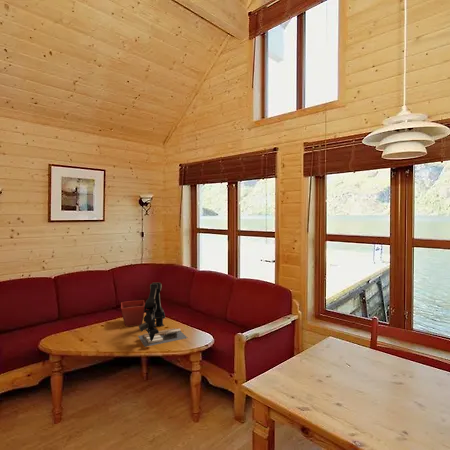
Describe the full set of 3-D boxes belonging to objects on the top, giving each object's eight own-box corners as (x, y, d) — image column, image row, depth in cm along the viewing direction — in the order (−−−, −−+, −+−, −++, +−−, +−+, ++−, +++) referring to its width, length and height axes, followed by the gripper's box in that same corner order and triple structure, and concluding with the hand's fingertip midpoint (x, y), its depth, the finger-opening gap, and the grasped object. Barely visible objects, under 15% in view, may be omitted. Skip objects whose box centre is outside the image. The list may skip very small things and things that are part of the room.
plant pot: (121, 320, 281) (121, 301, 280) (144, 318, 287) (143, 299, 286) (121, 328, 263) (121, 308, 262) (145, 325, 269) (145, 305, 268)
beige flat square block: (164, 335, 246) (164, 333, 247) (176, 333, 251) (176, 331, 251) (167, 332, 238) (167, 330, 239) (180, 330, 243) (180, 328, 243)
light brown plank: (143, 336, 246) (143, 334, 246) (174, 330, 257) (174, 328, 257) (145, 338, 240) (144, 336, 240) (177, 332, 252) (177, 330, 252)
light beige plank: (146, 339, 240) (145, 337, 240) (159, 336, 244) (159, 334, 244) (149, 343, 231) (149, 341, 231) (163, 340, 235) (163, 338, 235)
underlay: (137, 336, 246) (137, 336, 246) (178, 328, 261) (178, 328, 261) (144, 347, 226) (144, 346, 226) (187, 338, 241) (187, 337, 241)
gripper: (136, 317, 238) (137, 338, 238) (142, 324, 221) (143, 346, 221) (151, 314, 243) (152, 335, 243) (158, 321, 226) (159, 343, 227)
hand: (151, 340), depth 233 cm, fingers closed, pressing on light beige plank
